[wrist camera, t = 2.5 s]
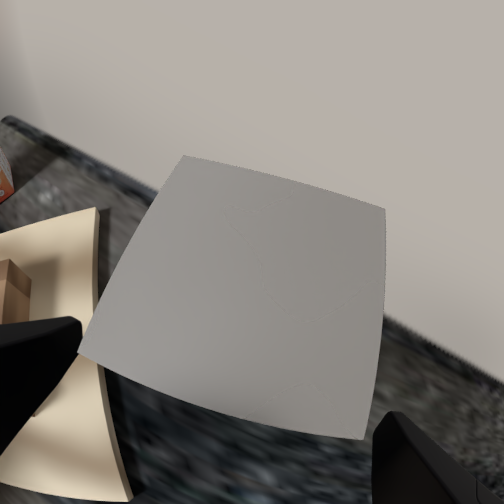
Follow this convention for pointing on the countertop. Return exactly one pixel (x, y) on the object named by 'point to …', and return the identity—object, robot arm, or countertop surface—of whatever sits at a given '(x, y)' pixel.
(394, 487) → the robot arm
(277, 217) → the gray block
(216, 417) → the countertop surface
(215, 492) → the countertop surface
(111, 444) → the collar board
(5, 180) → the cracker box
